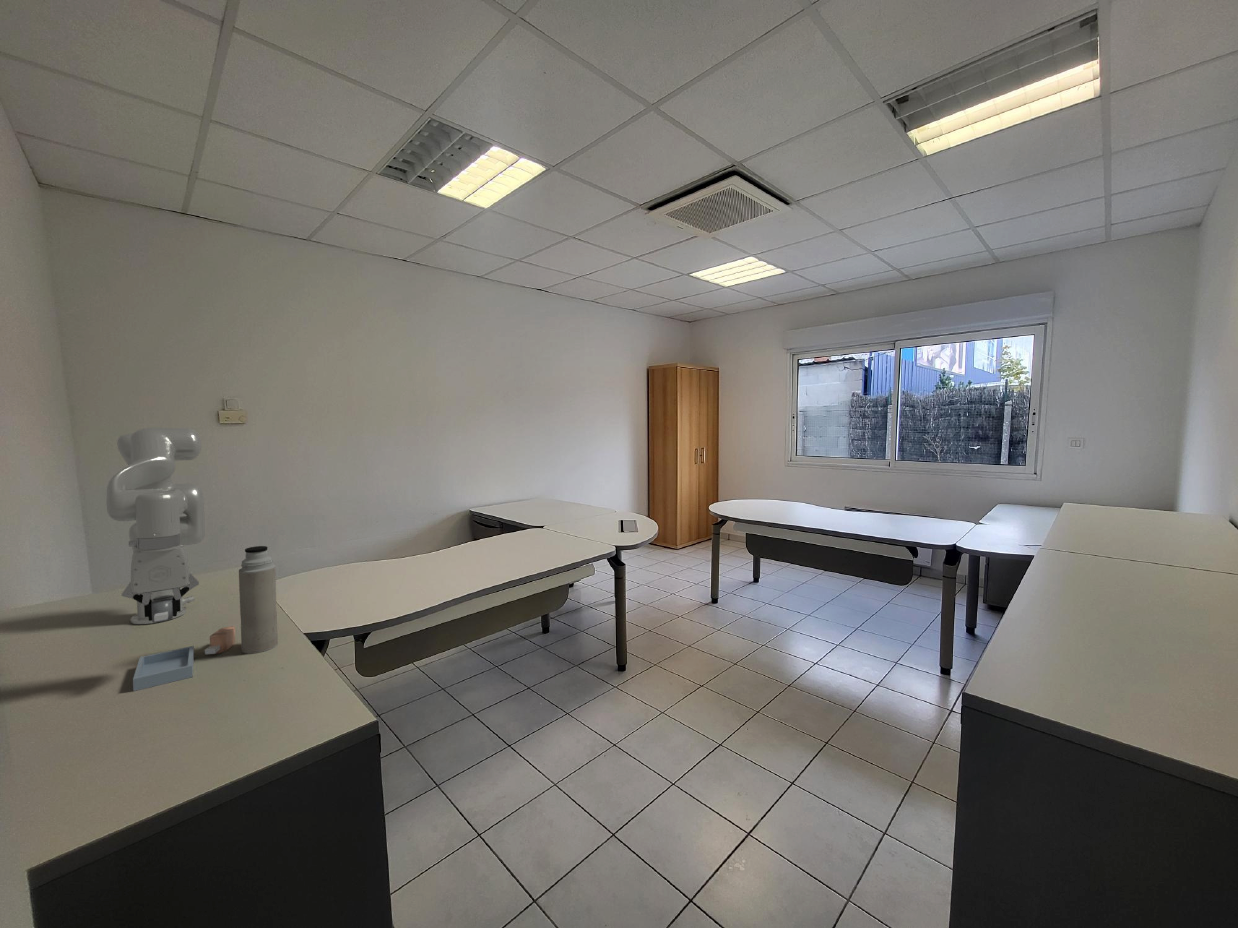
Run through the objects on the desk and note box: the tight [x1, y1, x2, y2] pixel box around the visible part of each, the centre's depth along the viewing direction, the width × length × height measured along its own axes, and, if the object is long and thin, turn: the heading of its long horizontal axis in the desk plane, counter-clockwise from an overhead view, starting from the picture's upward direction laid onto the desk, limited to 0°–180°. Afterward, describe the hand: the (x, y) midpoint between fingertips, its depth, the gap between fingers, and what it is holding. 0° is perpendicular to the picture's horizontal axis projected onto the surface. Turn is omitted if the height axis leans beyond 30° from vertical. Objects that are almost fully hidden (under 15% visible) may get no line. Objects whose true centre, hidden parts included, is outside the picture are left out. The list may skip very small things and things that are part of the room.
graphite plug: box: [151, 595, 173, 624], centre depth 114 cm, size 10×4×4 cm, turn 41°
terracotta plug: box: [204, 626, 236, 655], centre depth 129 cm, size 10×4×4 cm, turn 15°
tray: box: [132, 645, 195, 692], centre depth 116 cm, size 14×10×3 cm
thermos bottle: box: [238, 545, 279, 655], centre depth 130 cm, size 8×8×28 cm
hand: (163, 616), depth 115 cm, fingers closed on graphite plug, 3 cm apart
